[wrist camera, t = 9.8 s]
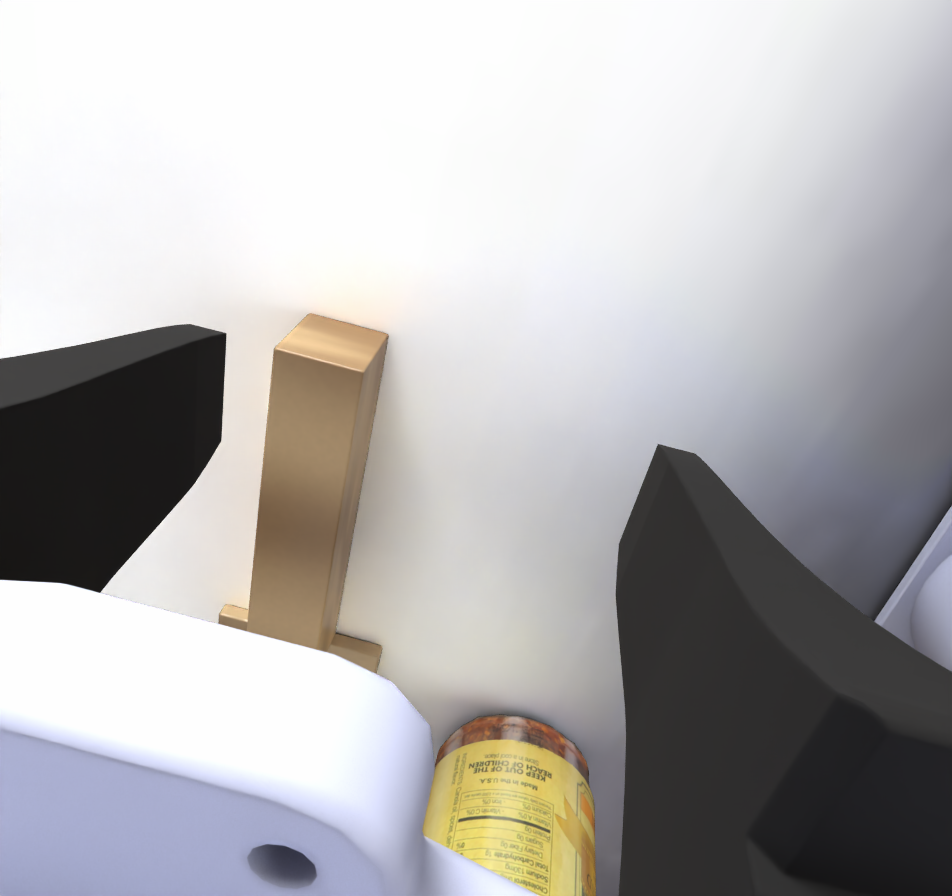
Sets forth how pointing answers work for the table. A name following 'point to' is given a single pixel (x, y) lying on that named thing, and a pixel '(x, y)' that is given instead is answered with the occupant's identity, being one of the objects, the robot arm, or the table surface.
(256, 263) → the table surface
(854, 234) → the table surface
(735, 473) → the table surface
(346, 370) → the tan upright bar
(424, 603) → the table surface
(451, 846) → the sauce bottle
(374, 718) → the robot arm
